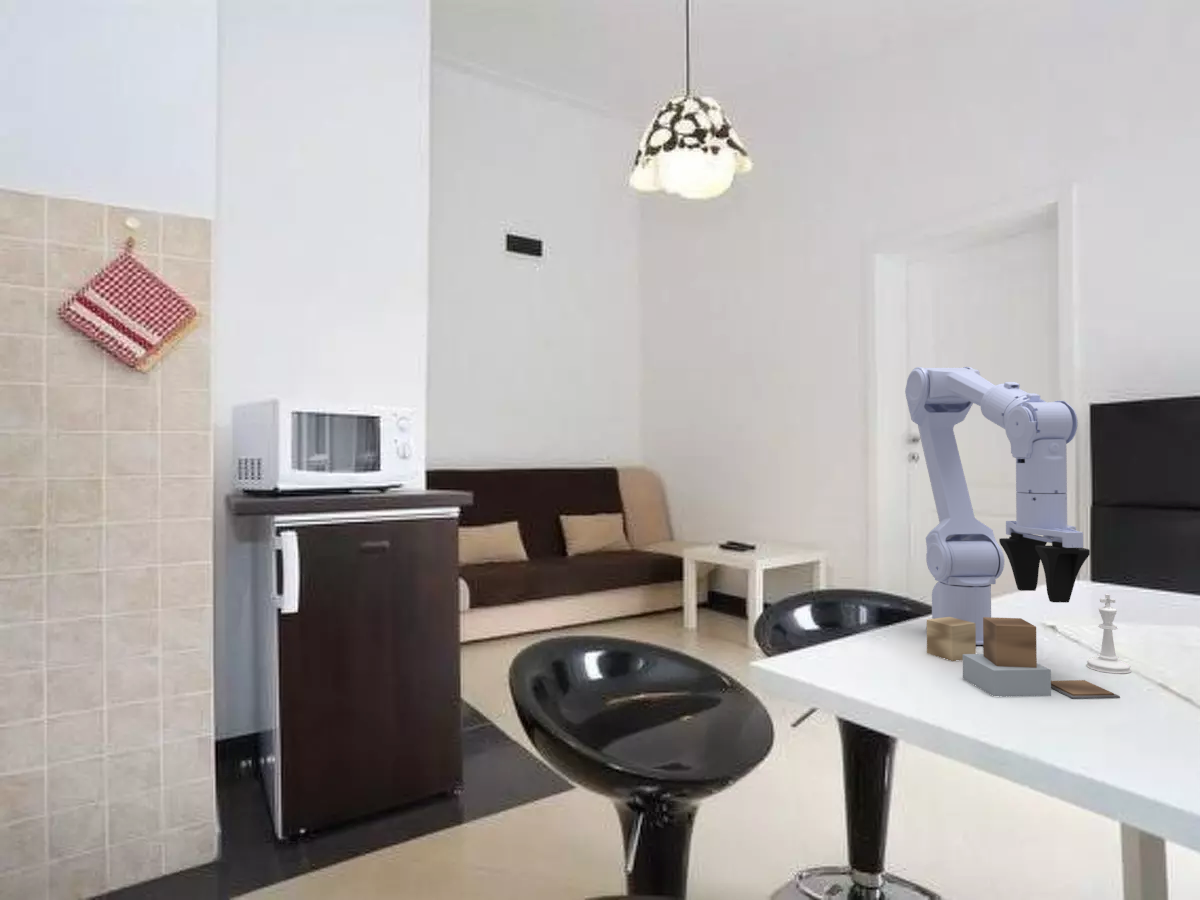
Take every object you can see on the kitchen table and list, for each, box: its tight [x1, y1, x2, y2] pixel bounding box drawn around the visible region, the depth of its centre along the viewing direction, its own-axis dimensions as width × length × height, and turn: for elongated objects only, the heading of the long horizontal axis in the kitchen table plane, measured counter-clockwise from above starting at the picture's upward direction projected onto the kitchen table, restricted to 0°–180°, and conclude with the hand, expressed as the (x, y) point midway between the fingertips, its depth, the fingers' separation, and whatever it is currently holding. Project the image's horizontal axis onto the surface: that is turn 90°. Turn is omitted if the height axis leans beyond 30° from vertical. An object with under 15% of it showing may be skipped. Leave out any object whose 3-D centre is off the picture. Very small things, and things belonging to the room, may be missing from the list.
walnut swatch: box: [1051, 679, 1121, 700], centre depth 88 cm, size 6×6×1 cm
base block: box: [962, 653, 1052, 698], centre depth 89 cm, size 7×7×4 cm
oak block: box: [926, 617, 977, 662], centre depth 103 cm, size 4×4×5 cm
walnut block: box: [982, 616, 1038, 668], centre depth 89 cm, size 4×4×5 cm
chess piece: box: [1085, 593, 1132, 675], centre depth 97 cm, size 5×5×10 cm
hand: (1042, 595), depth 94 cm, fingers open, 7 cm apart
